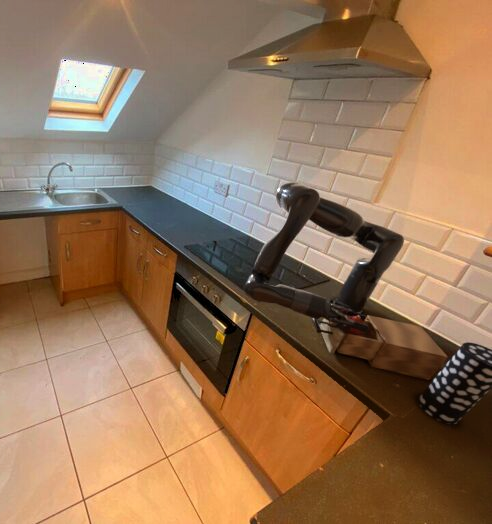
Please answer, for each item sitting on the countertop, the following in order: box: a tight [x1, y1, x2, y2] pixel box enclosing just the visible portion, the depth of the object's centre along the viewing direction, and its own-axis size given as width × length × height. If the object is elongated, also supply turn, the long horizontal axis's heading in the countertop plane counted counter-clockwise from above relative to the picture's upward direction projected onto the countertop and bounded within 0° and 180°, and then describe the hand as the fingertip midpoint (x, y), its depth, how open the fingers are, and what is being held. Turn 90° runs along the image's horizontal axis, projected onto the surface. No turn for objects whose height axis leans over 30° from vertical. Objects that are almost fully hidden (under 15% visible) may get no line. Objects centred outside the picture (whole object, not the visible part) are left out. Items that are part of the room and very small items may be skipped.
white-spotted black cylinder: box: [417, 341, 492, 425], centre depth 75 cm, size 8×8×20 cm
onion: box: [343, 316, 364, 335], centre depth 94 cm, size 6×6×8 cm
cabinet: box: [365, 314, 448, 381], centre depth 93 cm, size 16×14×10 cm
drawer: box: [311, 316, 384, 361], centre depth 96 cm, size 19×12×8 cm, turn 76°
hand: (365, 323), depth 92 cm, fingers closed on onion, 5 cm apart
